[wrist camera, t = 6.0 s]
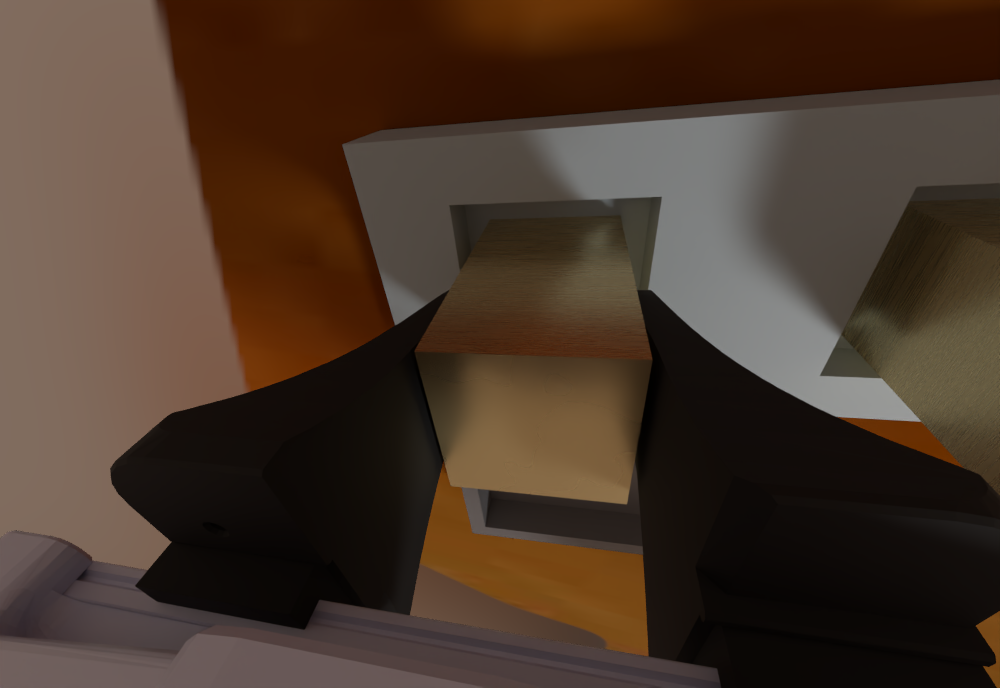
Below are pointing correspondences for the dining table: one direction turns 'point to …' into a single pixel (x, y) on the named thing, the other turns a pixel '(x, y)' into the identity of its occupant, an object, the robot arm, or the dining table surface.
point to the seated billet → (940, 325)
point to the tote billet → (540, 361)
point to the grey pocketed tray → (701, 210)
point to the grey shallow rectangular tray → (558, 518)
